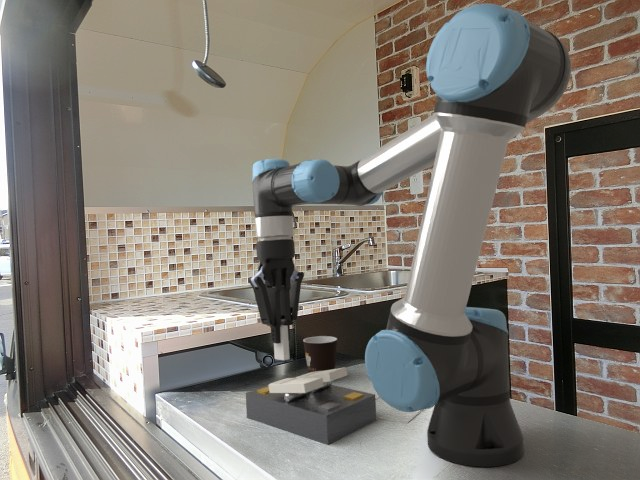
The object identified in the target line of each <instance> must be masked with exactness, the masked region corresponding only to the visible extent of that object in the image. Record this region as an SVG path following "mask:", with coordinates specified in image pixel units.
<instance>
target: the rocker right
mask: <svg viewBox="0 0 640 480" xmlns="http://www.w3.org/2000/svg"><path fill="white" fill-rule="evenodd" d="M346 376H348V372H347V368H346V367H340V368H335V369H332V370H326V371H316V372H310V373H308V372H307V373H304V374H301V375H298V376H295V377H296V378H323V382H329V381H331V382H333V381H336V380H338V379H341V378H343V377H346Z"/></svg>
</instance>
